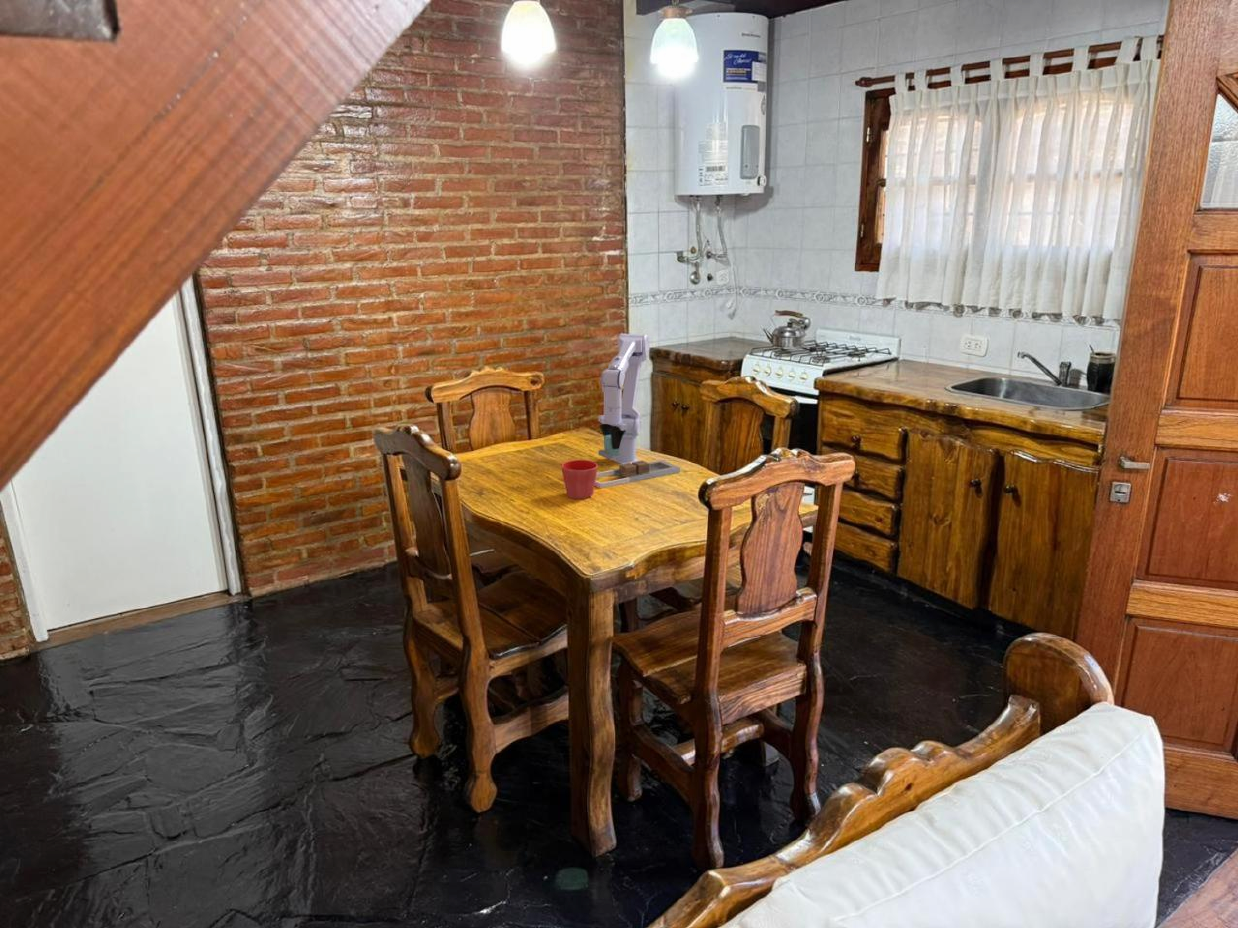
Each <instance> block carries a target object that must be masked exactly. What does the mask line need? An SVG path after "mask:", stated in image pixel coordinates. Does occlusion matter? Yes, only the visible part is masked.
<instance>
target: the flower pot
mask: <svg viewBox="0 0 1238 928" xmlns="http://www.w3.org/2000/svg"><path fill="white" fill-rule="evenodd" d="M598 467H599V466H598V463H596V462H594V461H592V460H587V459H574V460H573V459H572V460H569V461H568V460H567V461H565V462H564V463H562V464H561V473H562V477H563V481H564V486H565V490H566V494H567V497H568V498H570V499H574V500H587V499H589V498H591V497H592V496H593V494H594V489H595V480H596V479H597V478H596V474H597V473H598ZM596 481H597V480H596Z"/></svg>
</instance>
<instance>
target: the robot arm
mask: <svg viewBox="0 0 1238 928" xmlns="http://www.w3.org/2000/svg"><path fill="white" fill-rule="evenodd" d="M649 348H650V340H649V336H648V334H634V333H623V332H621V333H620V334H619V335H618V337H617V349H618V353H617V355H615V356H614V357H612V359H611V361H610V364H609V365H608V367H607V368H606V369H604V370H603V371H602V372H601V376H600V384H601V392H602V393H603V415H602V414H599V415H598V422H600V423H601V424H600V425H599V428H600V430H601V433H602V435H603V437H604V436H606V435H611V439H612V447H613V449H619V456H615V457H612V458H611V459H609V460H611V461H614V462H615V463H617V464H619V465H620V464H626V463H631V464H632V462H636V461H642V460H641V459H640V458H639V459H638V458H637V437H638V436H640V433H641V431H642V415H641V413H640V412H639V411H638V410H636V404H637V403H636V402H637V394H638V389H639V380H640V374H641V373H640V372H641V368H642V364H643V363H644V362H646V361H647V359H648V356H649ZM622 388H623V389H622ZM622 390H623V392H622Z"/></svg>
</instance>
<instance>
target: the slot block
mask: <svg viewBox="0 0 1238 928" xmlns="http://www.w3.org/2000/svg"><path fill="white" fill-rule="evenodd" d="M648 463H649V472H646V473H640V474H635V475H630V476H627V478H628V477H629V478H630V483H634V482H639V481H640V482H641V481H644V480H649V479H654V478H660V477H664V476H669V475H674V474H679V473H681V467H680V466H678V465H675V464H673V463H670V462H668V461H665V460H663V459H661V460H656V461H655V460H654V461H652V462H648ZM612 470H614V475H613V476H615V477H616V478H619V479H623V478H621V477H619V467H617V468H614V469H612Z"/></svg>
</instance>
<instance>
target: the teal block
mask: <svg viewBox="0 0 1238 928" xmlns="http://www.w3.org/2000/svg"><path fill="white" fill-rule="evenodd" d="M603 447H604V448H603V449H598V451H597V452H598V453H597V454H598V456H600V457H602V458H605V459H607V460H610V459H611V458H612V457H615V456H619V449H613V447H612V439H611V435H606V436H604V435H603Z"/></svg>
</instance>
